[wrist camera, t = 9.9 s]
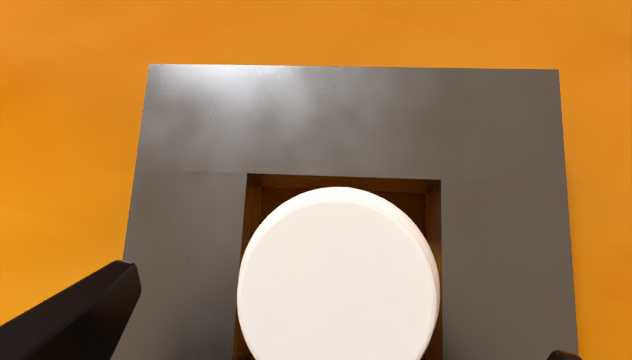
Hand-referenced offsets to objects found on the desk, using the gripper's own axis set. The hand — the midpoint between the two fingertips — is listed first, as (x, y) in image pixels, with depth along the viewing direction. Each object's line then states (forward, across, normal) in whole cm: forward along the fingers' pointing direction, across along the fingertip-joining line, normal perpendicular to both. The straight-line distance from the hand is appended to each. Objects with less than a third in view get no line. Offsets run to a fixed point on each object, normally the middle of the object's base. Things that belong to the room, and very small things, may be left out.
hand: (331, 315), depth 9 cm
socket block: (+7, 0, +6) cm, 9 cm away
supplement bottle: (+7, 0, +6) cm, 9 cm away
